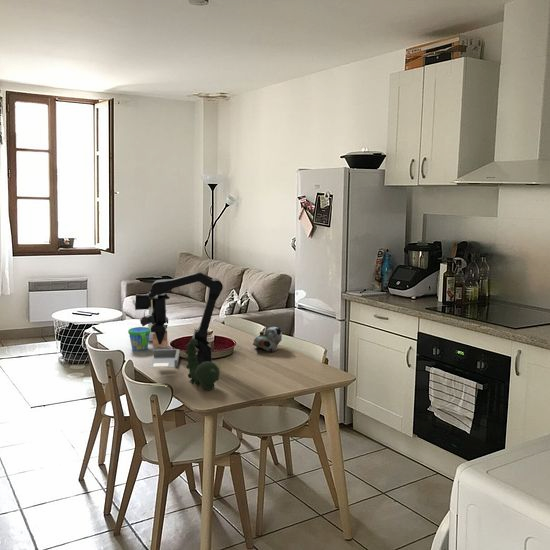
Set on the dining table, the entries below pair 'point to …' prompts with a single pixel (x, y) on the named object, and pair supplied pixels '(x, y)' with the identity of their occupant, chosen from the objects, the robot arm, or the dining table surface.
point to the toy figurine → (200, 368)
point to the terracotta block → (164, 342)
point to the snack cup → (139, 338)
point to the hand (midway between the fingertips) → (160, 343)
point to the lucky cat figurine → (269, 339)
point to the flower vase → (149, 314)
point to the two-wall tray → (165, 358)
